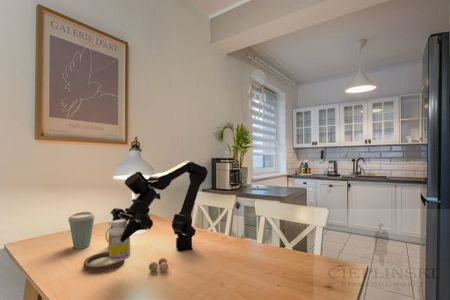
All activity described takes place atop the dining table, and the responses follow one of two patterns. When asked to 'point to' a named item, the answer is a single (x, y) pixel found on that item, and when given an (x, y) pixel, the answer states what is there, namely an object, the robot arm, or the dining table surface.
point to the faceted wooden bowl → (100, 263)
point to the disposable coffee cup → (81, 228)
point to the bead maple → (153, 266)
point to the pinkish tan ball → (163, 267)
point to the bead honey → (162, 261)
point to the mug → (109, 230)
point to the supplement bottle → (118, 242)
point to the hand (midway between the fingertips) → (115, 239)
